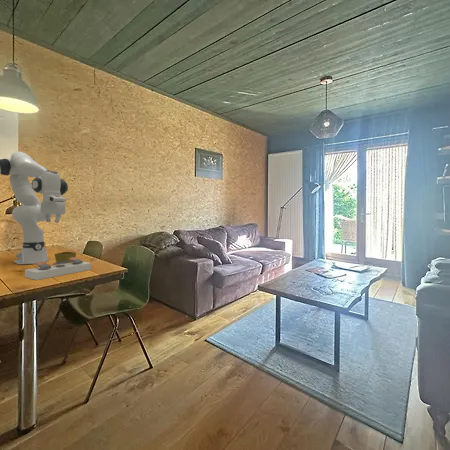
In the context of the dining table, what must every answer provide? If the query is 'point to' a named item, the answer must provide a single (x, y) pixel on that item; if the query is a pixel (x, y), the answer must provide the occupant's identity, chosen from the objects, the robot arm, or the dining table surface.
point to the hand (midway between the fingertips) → (52, 222)
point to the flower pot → (64, 256)
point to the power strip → (56, 270)
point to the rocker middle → (60, 262)
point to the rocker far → (75, 260)
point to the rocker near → (42, 265)
